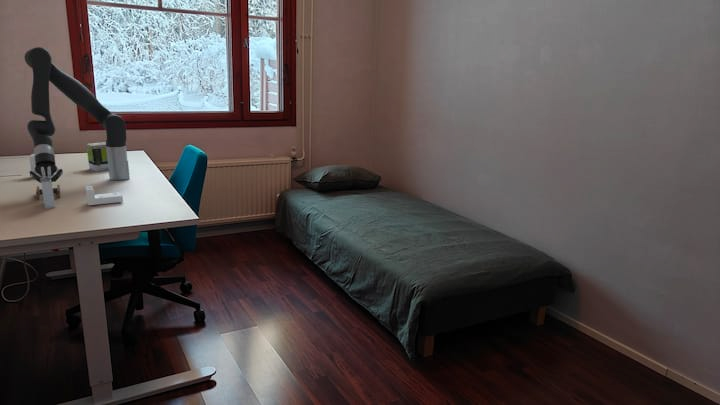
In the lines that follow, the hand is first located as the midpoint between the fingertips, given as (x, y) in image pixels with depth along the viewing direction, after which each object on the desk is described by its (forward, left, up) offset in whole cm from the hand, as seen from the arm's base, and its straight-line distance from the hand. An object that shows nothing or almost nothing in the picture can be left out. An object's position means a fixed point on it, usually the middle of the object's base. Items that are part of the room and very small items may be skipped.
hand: (48, 189), depth 210 cm
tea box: (-27, -65, -5) cm, 71 cm away
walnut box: (0, -6, -4) cm, 8 cm away
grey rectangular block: (0, +11, -5) cm, 12 cm away
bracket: (-20, +17, -5) cm, 27 cm away
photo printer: (+3, -55, -5) cm, 56 cm away
